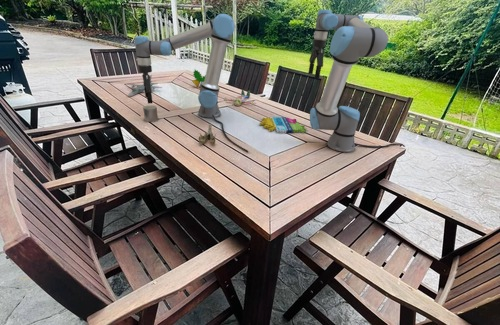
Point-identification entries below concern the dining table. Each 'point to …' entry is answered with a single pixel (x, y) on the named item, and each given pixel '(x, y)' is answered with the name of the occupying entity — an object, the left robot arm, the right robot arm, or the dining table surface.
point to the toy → (241, 99)
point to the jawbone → (207, 136)
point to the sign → (282, 125)
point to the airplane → (141, 88)
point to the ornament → (198, 78)
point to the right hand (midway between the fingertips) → (313, 76)
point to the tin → (150, 113)
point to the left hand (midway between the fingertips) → (148, 100)
